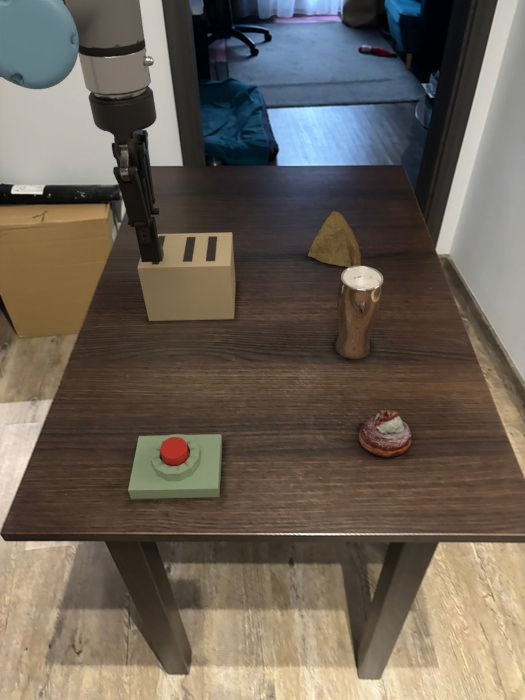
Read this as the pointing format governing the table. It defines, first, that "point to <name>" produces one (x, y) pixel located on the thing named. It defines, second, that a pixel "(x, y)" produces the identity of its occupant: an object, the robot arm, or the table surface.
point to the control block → (177, 469)
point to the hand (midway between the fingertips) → (151, 259)
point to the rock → (336, 243)
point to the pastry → (385, 435)
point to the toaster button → (161, 250)
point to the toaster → (190, 278)
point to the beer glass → (357, 310)
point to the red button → (174, 451)
